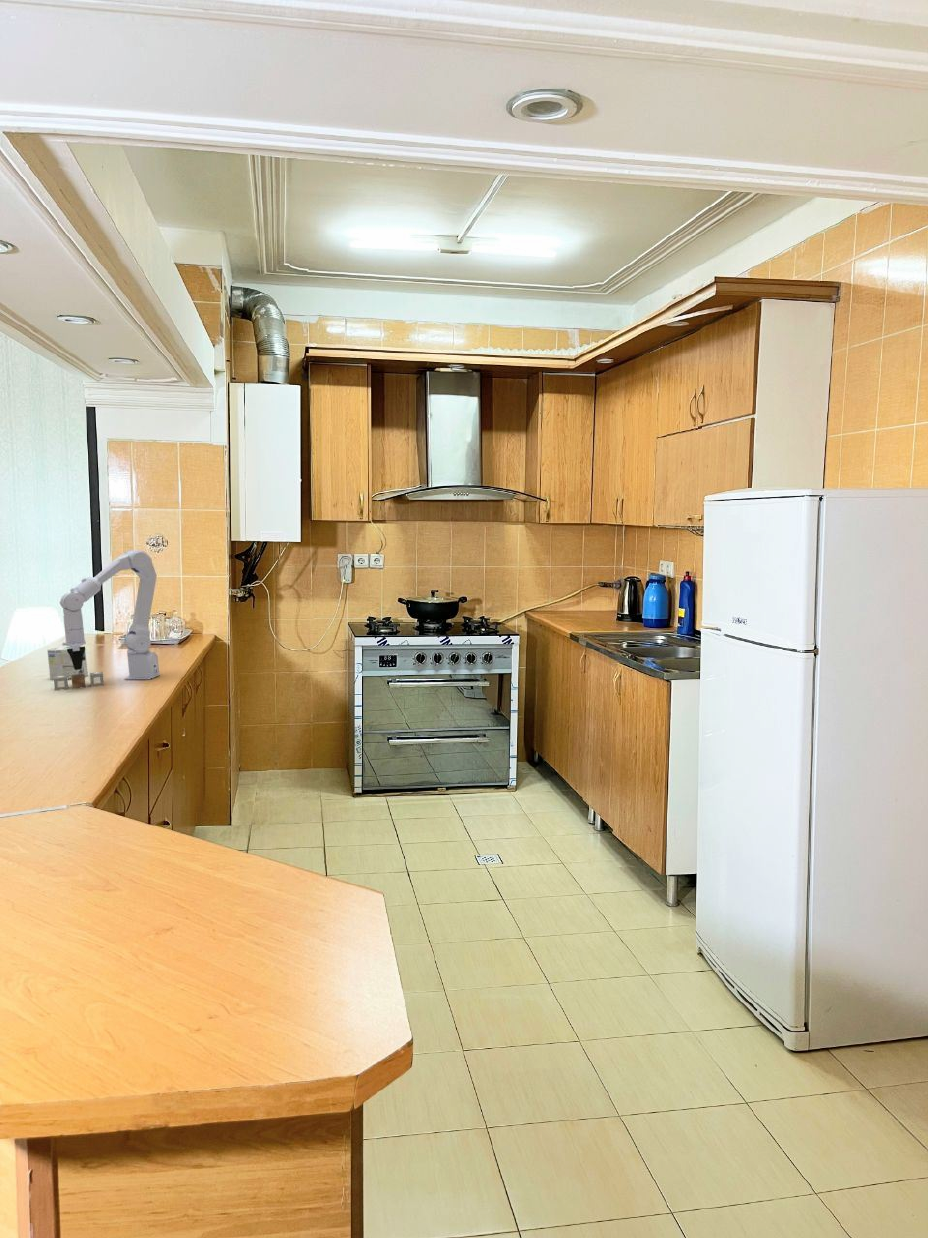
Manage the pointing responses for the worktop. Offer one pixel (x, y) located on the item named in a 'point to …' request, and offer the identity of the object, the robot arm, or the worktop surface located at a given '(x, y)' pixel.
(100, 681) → the marked grey block 2
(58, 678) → the marked grey block 1
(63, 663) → the light bulb box
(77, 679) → the plain walnut block
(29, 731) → the worktop surface
